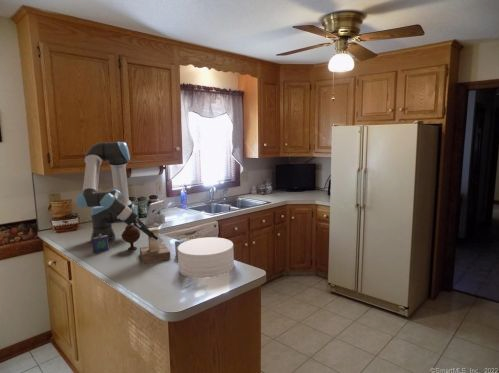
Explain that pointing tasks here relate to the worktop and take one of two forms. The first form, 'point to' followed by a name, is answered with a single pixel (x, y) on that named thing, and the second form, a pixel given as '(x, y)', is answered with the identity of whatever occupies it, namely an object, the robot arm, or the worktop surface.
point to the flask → (100, 244)
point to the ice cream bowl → (131, 236)
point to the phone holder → (155, 215)
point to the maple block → (152, 243)
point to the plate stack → (205, 257)
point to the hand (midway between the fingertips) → (160, 240)
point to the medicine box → (179, 244)
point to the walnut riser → (154, 254)
